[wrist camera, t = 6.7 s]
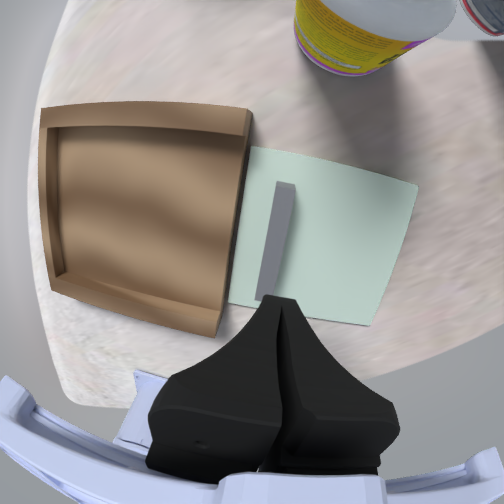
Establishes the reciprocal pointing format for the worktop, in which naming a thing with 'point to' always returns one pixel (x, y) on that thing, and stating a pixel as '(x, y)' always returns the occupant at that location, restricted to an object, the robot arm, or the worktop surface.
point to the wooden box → (142, 206)
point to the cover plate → (318, 235)
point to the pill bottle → (486, 15)
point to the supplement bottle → (366, 31)
